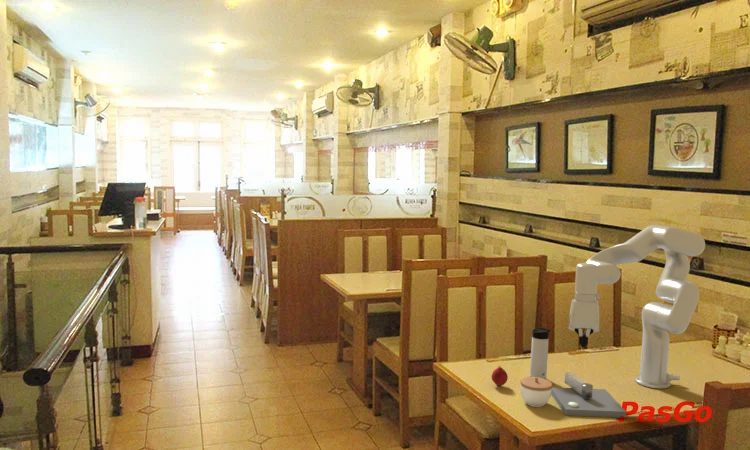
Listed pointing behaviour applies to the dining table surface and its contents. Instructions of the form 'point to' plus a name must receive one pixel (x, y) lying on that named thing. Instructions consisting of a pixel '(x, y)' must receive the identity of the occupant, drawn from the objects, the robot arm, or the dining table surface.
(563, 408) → the base
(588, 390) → the light grey rectangular bar
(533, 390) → the lidded jar
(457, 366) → the dining table surface
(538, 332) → the travel mug
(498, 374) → the onion
